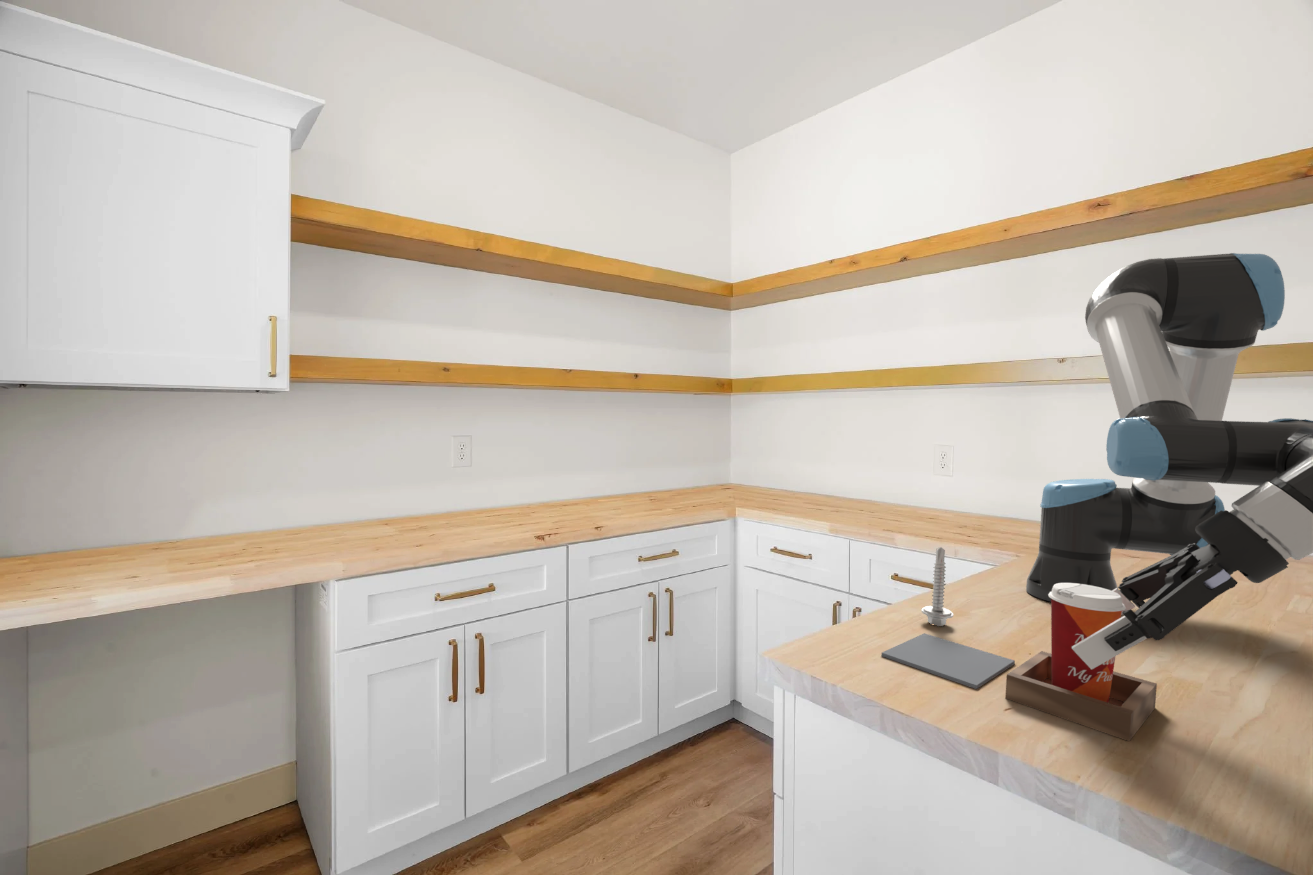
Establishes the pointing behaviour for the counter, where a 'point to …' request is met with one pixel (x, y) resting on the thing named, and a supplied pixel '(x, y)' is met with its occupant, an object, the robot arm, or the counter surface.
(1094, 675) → the paper cup
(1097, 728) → the cup holder
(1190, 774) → the counter surface
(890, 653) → the slate mat
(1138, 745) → the counter surface
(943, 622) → the screw
